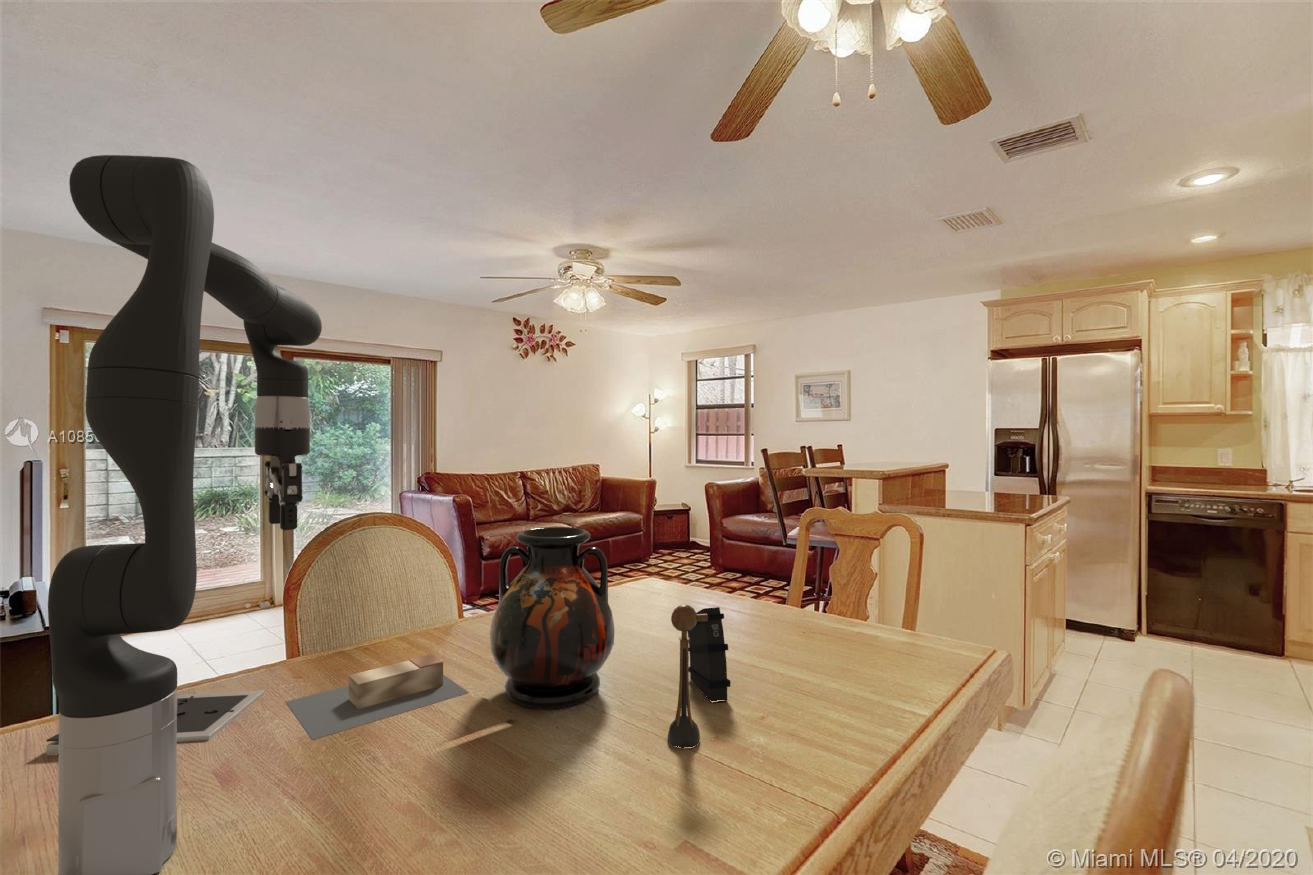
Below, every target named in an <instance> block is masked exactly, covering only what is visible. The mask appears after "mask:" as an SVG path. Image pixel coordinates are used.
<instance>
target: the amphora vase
mask: <svg viewBox="0 0 1313 875" xmlns="http://www.w3.org/2000/svg"><path fill="white" fill-rule="evenodd" d="M515 539H516V541H518V543H520V544H521V545H525V546H526V548H527V551H526V550H524V549H523V548H522V547H521V546H514V545H513V546H509V547H508V548H506V549H505V550H504V552H503V554H502V556H501V558H500V559H499V560H500V561H499V569H498V570H499V574H498V576H499V577H498V578H499V590H498V592H499V593H498V594H499V595H498V599H499V600H498V604H497V607H496V609H495V612H494V614H493V616H492V619H491V625H490V631H489V641H490V642H489V643H490V644H489V646H490V650H491V654H492V657H493V659H494V662H495V664H496V665H497V667H498V668H499V669H500V671H501V672H502V673H503V674H504V675H505V676H506V677H508V678H507V680H506V681H505V685H504V690H505V691H504V692H505V694H506V696H507V697H508V698H509V699H510V700H512V701H513V702H514V703H515V704H518V705H521V706H525V707H527V708H531V709H532V708H533V709H543V710H545V709H559V708H566V707H570V706H575V705H577V704H579V703H582V702H584V701H587V700H589V699H590V698H591V697H592V696H594V695H595V694H596V692H597V691H598V689H599V688H600V685H601V678H600V676H599V674H598V671H600V669H602V667H603V665H604V664H605V663H606V661H607V660H608V659H609V656H610V655H611V653H612V650H613V647H614V644H615V624H614V616H613V612H612V609H611V607H610V604H609V579H608V578H609V576H608V575H609V573H608V561H607V560H608V559H607V557H606V556H605V553H604V552H603V550H602V549H600V548H598V547H597V546H596V547H595V546H591V547H587V548H585V549H584V550H582V551H581V552H580V553H579V551H580V546H581V545H582V544H584V543H586V542H587V541H589V540H590V539H591V534H590V532H589V531H587V530H586V529H582V528H576V527H566V526H565V527H560V526H559V527H557V526H556V527H554V526H553V527H540V528H539V527H537V528H531V529H526V530H522V531H521V532H519V533H517V535H516V536H515ZM513 554H515V555H518V556H519V558H521V560H522V564H523V566H522V567H523V569H522V570H521V571H520V572H519V573H518V575H517V576H516V577H514V579H513V580H512V581H511V582H510V583H509V579H508V566H509V559H510V557H511V555H513ZM589 555H594V556H595V557H596V558H597V560H598V562H599V567H600V582H599V584H600V585H599V584H598V582H597V581H596V580H595V579H594V577H593V576H592V575H591V574H590V573H589V571H587V569H586V568H585V567H584V564H585V558H586V557H587V556H589Z"/></svg>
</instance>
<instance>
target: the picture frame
mask: <svg viewBox="0 0 1313 875" xmlns="http://www.w3.org/2000/svg"><path fill="white" fill-rule="evenodd" d="M264 695H265V690H249V691H247V690H245V691H226V692H209V693H207V692H203V693H187V694H186V693H185V694H177V743H184V742H198V741H199V742H203V741H210V740H211V739H213V737H215V736H216V735H217V734H219V733H220V732H222V730H223V729H224V728H226V726H228V725H229V724H230V723H232V722H233V721H234V720H235V719H236V718H237V717H238V716H240V715H241V714H243V713H244V712H245V711H246V710H247V709H248V708H249V707H251V705H254V703H255V702H256V701H258V700H259V699H260V698H261V697H263V696H264ZM46 742H50V743H48V744H45V745H46V749H45V752H46V754H45V756H46V755H51V756H56V755H55V754H59V733H57V734H55V735H53V736H51V737H49V738H47V739H46Z"/></svg>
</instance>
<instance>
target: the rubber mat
mask: <svg viewBox="0 0 1313 875" xmlns="http://www.w3.org/2000/svg"><path fill="white" fill-rule="evenodd" d="M467 694H470V692H469V691H468V690H466V688H464V687H462V686H461V685H459V684H458V683H456V682H455V681H454V680H452V679H450V678H449V677H447V676H446V675H445V674H443V685H442V686H438V687H435V688H431V689H428V690H424V691H421V692H417V693H414V694H410V695H407V696H403V697H400V698H396V699H393V700H389V701H386V702H382V703H378V704H375V705H371V706H368V707H364V708H361V709H358V708H357V707H356V706H355V705H354V704H353V703H352V702H351V701H350V700H349V685H345V686H341V687H338V688H334V689H330V690H327V691H321V692H318V693H314V694H311V695H306V696H302V697H298V698H295V699H290V700H287V701H285V703H286V705H287V706H288V708H289V709H290V711H291V712H292V713H293V715H294V717H296V719H297V720H298V722H299V723H300V724H301V726H302V727H303V729H304V731H305V732H306V733H307V734H308V736H309V738H310V739H311V741H315V740H317V739H322V738H324V737H327V736H332V735H335V734H338V733H340V732H341V733H342V732H343V731H347V730H351V729H355V728H357V727H360V726H364V725H367V724H370V723H374V722H377V721H381V720H383V719H387V718H390V717H394V716H398V715H401V714H405V713H407V712H410V711H414V710H417V709H420V708H424V707H427V706H430V705H433V704H437V703H439V702H443V701H446V700H447V701H448V700H450V699H453V698H456V697H461V696H462V695H463V696H464V695H467Z"/></svg>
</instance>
